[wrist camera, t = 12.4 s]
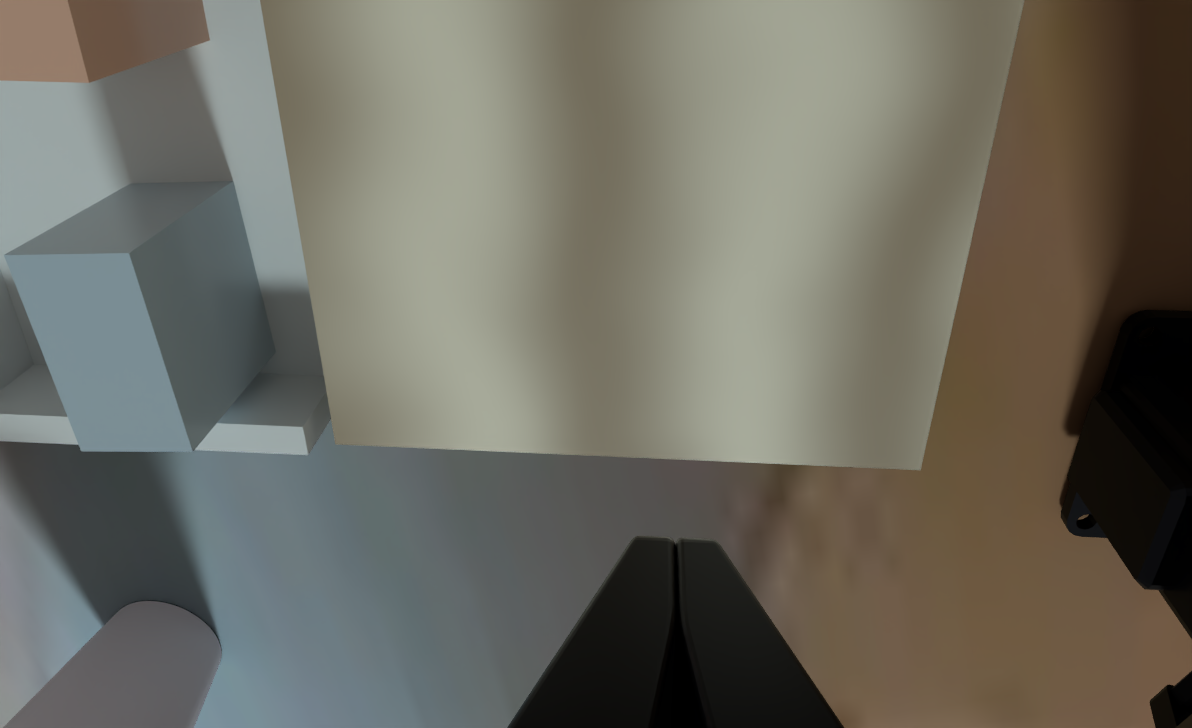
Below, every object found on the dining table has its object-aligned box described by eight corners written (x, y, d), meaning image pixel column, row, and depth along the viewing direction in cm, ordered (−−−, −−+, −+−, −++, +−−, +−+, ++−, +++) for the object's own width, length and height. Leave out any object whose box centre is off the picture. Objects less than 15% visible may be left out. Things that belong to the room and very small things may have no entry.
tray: (240, -300, 16) (158, -333, 14) (348, 391, 24) (308, 454, 21) (-212, -294, 17) (-372, -326, 14) (28, 378, 24) (-50, 439, 22)
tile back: (128, 252, 16) (3, 254, 17) (192, 452, 19) (81, 451, 19) (233, 180, 20) (131, 183, 21) (275, 351, 23) (183, 352, 23)
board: (1039, -308, 16) (1099, -339, 13) (896, 413, 23) (920, 470, 21) (266, -300, 16) (203, -327, 14) (366, 391, 24) (335, 444, 21)
